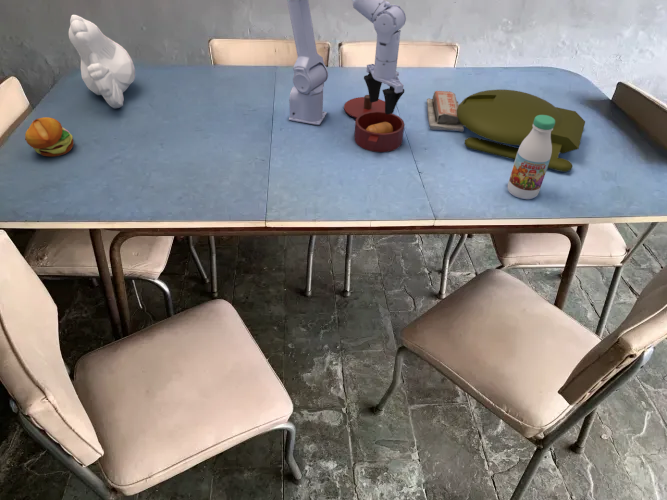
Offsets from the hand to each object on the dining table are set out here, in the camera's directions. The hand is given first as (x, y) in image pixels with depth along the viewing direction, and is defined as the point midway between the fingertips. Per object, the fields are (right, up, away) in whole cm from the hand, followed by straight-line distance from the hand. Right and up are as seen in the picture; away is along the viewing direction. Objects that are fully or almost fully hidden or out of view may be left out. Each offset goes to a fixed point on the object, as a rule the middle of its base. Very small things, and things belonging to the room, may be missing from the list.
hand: (381, 107), depth 148 cm
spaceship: (+40, -5, +11) cm, 42 cm away
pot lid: (-3, +4, +19) cm, 20 cm away
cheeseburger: (-87, -12, -3) cm, 87 cm away
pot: (0, -7, +6) cm, 10 cm away
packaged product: (+21, +2, +18) cm, 28 cm away
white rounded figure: (-82, +8, +20) cm, 85 cm away
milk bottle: (+35, -24, -10) cm, 43 cm away
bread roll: (0, -7, +6) cm, 10 cm away
